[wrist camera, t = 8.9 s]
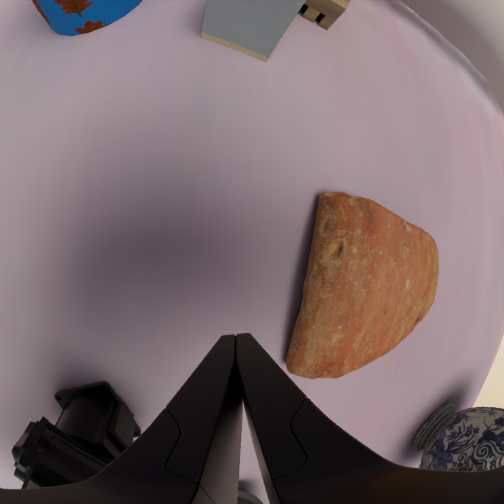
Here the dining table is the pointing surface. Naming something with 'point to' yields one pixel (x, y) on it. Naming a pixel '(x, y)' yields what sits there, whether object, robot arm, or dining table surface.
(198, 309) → the dining table surface
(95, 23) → the thermos
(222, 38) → the cover
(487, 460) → the decorative vase
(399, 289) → the brown rounded piece
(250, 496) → the bluetooth speaker
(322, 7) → the wooden toy bench
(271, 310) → the dining table surface
